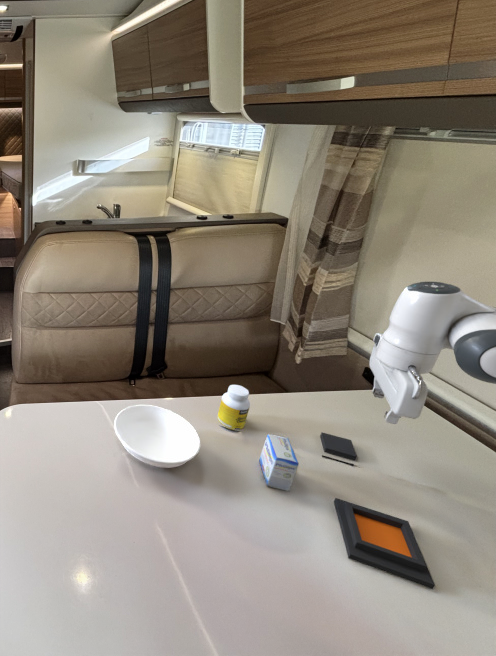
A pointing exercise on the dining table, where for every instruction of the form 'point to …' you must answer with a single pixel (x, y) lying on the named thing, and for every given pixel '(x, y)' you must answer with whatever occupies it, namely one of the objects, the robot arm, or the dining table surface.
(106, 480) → the dining table surface
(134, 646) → the dining table surface
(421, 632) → the dining table surface
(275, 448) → the medicine box
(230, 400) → the pill bottle
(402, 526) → the picture frame
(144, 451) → the bowl
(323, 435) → the black block
